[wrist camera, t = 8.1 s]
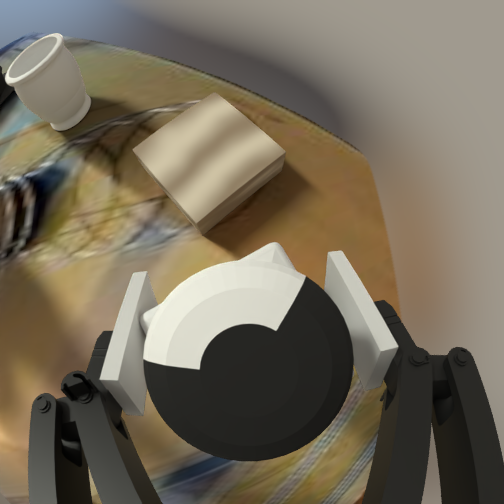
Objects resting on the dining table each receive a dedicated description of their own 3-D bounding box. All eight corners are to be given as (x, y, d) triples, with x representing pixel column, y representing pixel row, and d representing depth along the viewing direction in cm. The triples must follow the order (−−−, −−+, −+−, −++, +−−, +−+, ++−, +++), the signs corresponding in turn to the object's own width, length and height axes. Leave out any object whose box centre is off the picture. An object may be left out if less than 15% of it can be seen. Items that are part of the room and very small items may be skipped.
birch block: (144, 168, 37) (132, 149, 32) (217, 114, 39) (214, 92, 35) (202, 236, 35) (196, 223, 30) (281, 171, 37) (286, 151, 33)
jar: (39, 122, 39) (-2, 74, 25) (79, 83, 41) (48, 29, 27) (62, 146, 38) (14, 91, 23) (107, 102, 40) (73, 38, 25)
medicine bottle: (319, 357, 19) (417, 400, 7) (226, 410, 18) (204, 516, 6) (266, 266, 20) (297, 189, 8) (172, 318, 19) (76, 311, 7)
